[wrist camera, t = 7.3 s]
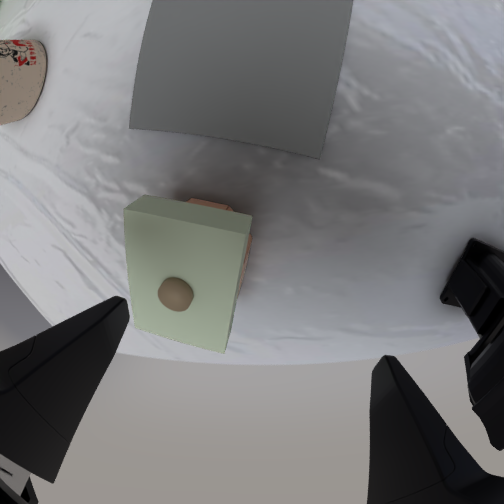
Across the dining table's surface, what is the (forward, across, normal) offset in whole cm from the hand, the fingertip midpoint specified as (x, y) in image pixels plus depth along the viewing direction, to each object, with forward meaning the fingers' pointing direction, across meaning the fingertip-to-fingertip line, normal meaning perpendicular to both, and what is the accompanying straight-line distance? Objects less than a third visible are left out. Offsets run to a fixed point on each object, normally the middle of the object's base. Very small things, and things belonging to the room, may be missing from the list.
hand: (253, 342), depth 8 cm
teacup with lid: (+11, +28, -11) cm, 32 cm away
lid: (+8, +5, +4) cm, 10 cm away
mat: (+12, +5, -10) cm, 16 cm away
